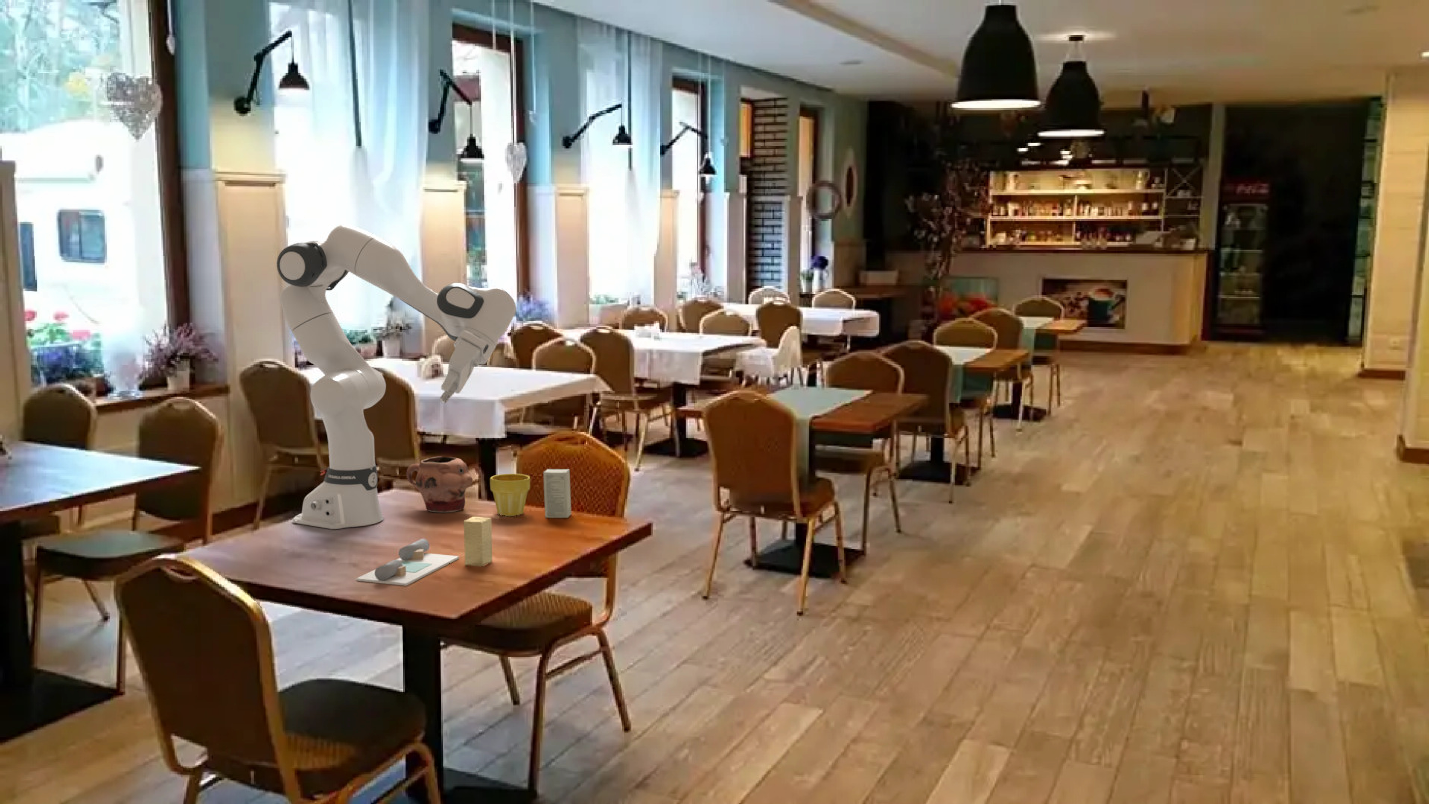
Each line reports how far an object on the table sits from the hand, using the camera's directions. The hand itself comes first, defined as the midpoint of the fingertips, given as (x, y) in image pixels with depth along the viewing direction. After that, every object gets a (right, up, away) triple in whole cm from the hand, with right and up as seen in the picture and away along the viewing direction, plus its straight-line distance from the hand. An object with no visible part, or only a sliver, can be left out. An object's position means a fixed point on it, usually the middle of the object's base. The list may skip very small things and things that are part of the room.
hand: (443, 395), depth 278 cm
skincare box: (+23, -31, +30) cm, 49 cm away
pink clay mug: (-9, -30, +37) cm, 48 cm away
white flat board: (-3, -38, -19) cm, 43 cm away
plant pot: (+10, -31, +33) cm, 46 cm away
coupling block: (+11, -37, -14) cm, 42 cm away
